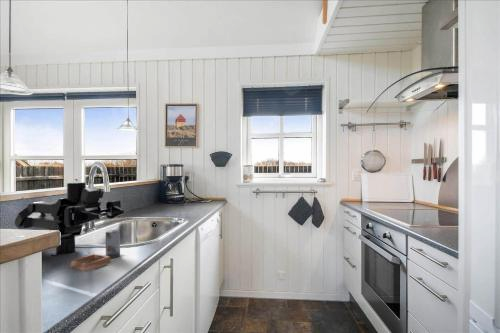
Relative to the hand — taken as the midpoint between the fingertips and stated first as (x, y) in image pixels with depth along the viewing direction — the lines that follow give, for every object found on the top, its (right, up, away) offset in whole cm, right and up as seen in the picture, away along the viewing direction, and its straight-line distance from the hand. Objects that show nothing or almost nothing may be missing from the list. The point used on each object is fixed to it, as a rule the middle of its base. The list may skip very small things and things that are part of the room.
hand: (111, 214), depth 87 cm
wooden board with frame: (-4, -16, 0) cm, 17 cm away
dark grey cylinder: (-2, -16, +4) cm, 16 cm away
